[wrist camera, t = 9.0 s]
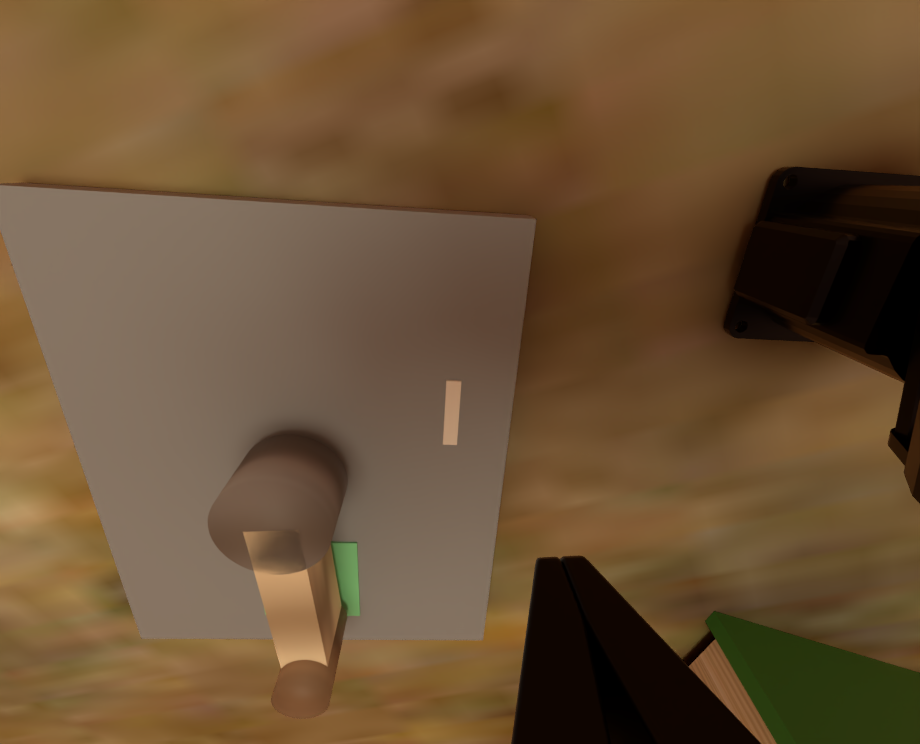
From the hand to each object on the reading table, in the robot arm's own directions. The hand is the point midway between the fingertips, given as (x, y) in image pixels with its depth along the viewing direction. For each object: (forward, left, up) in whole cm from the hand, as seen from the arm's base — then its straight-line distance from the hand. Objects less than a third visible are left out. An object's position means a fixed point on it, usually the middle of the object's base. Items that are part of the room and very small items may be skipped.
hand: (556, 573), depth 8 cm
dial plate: (+8, +6, -12) cm, 16 cm away
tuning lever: (+8, +10, -10) cm, 16 cm away
